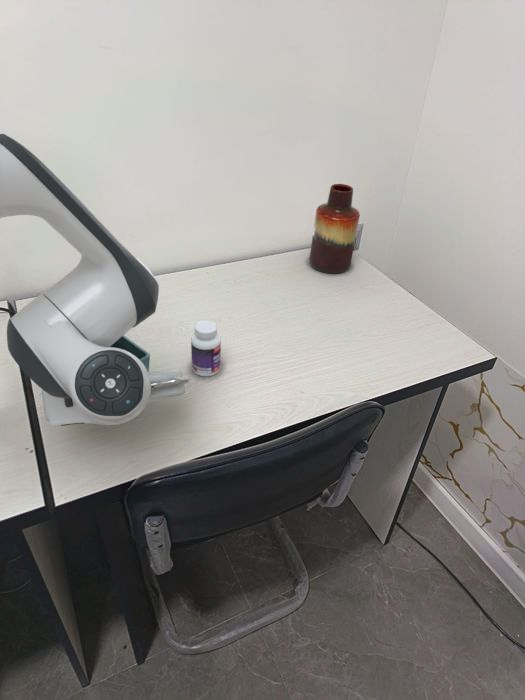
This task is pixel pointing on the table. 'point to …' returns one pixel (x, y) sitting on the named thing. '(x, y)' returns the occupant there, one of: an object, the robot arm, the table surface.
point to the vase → (334, 231)
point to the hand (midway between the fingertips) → (117, 396)
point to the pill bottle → (206, 349)
